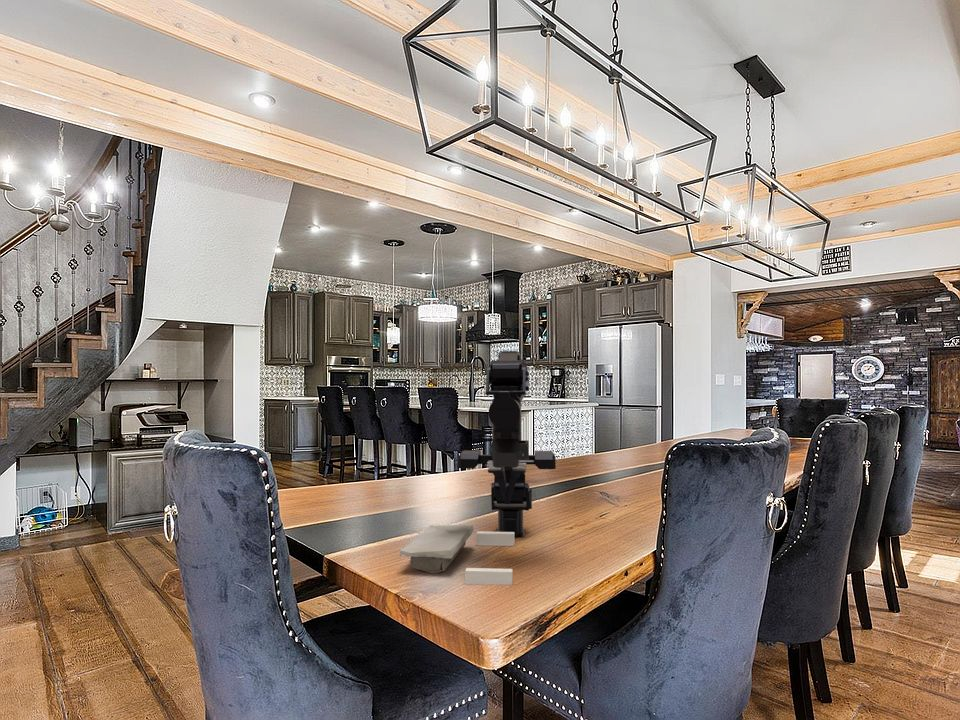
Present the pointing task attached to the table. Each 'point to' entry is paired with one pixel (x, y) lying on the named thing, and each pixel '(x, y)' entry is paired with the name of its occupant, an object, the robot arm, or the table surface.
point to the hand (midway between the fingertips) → (507, 503)
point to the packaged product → (437, 547)
